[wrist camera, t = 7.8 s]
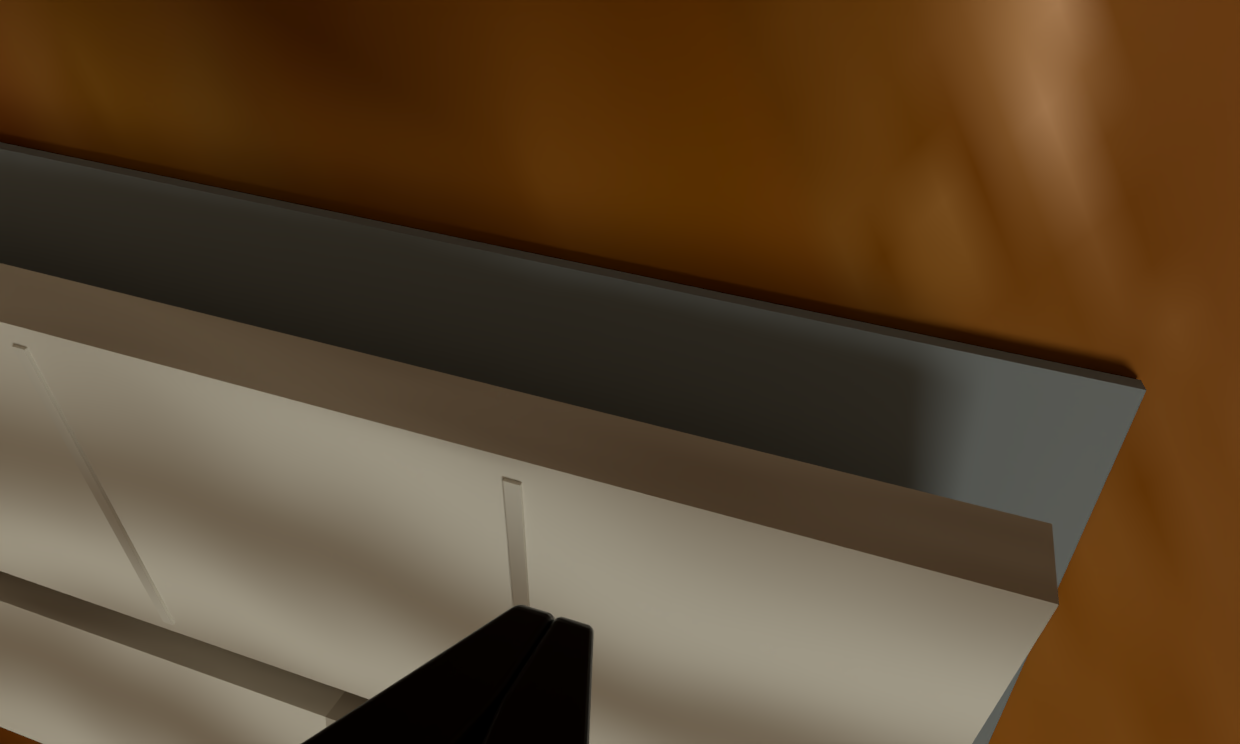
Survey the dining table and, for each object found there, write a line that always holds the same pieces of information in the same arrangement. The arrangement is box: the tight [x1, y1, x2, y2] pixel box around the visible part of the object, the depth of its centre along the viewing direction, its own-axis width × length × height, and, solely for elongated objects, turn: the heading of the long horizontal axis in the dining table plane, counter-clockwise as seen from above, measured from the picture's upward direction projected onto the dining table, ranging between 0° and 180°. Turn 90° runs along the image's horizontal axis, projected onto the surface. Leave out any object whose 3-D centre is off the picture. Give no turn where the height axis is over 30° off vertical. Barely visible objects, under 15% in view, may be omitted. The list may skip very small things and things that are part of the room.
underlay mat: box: [0, 142, 1146, 744], centre depth 17 cm, size 15×23×1 cm, turn 84°
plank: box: [0, 263, 1059, 744], centre depth 15 cm, size 8×22×1 cm, turn 85°
